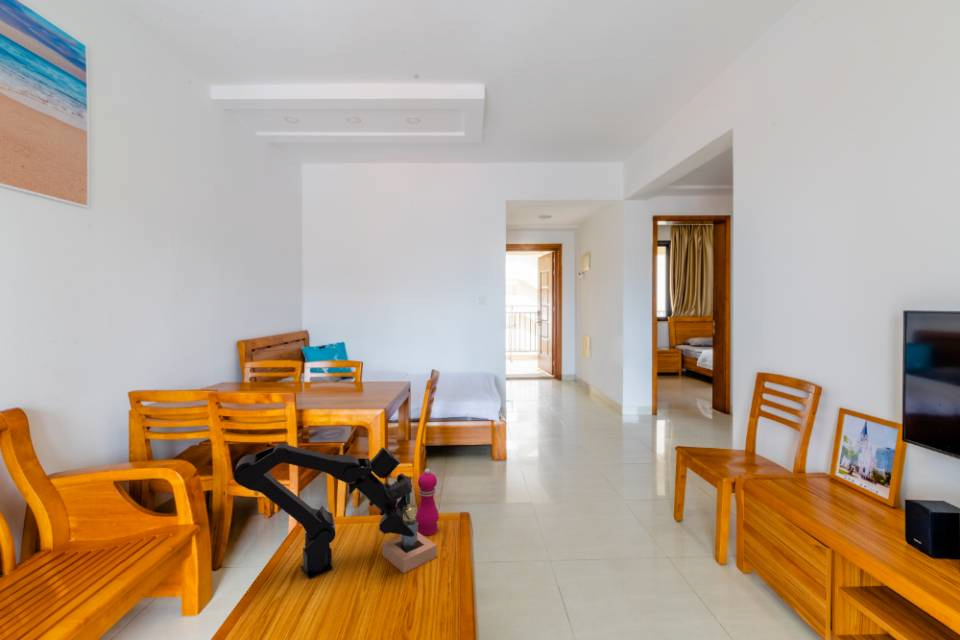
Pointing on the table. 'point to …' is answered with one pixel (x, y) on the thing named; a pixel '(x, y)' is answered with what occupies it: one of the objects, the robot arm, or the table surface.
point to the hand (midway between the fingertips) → (414, 526)
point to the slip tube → (410, 519)
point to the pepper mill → (427, 504)
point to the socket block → (409, 553)
